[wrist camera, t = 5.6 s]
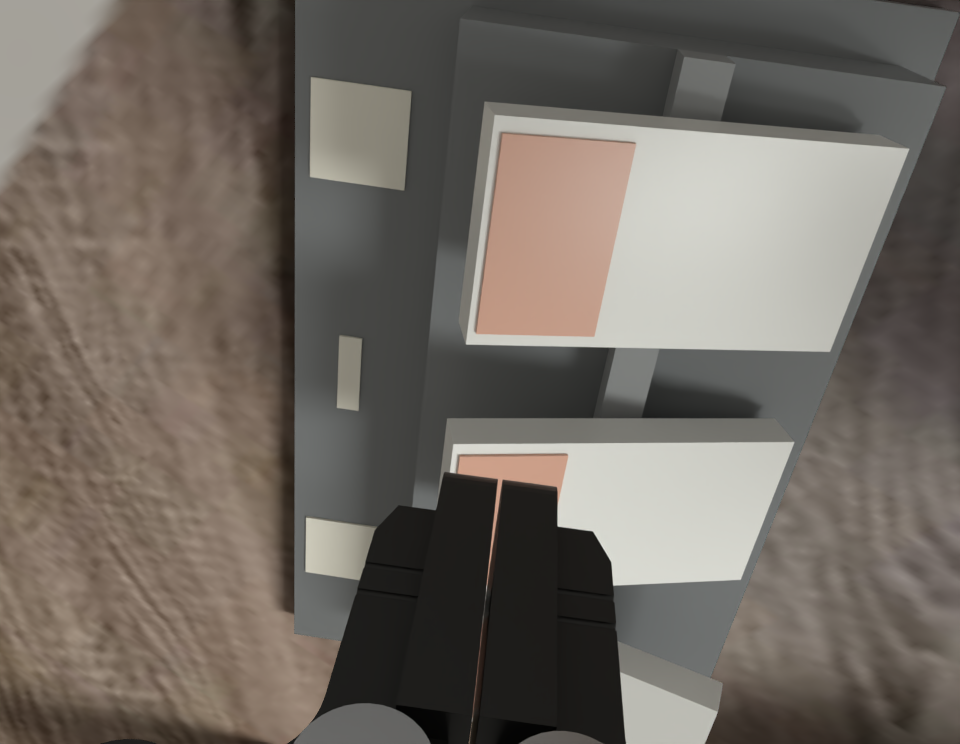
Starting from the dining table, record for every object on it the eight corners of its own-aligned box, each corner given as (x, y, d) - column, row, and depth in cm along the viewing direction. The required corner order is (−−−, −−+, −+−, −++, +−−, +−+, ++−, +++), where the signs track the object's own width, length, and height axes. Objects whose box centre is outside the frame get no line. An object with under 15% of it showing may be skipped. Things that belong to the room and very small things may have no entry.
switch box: (944, 8, 22) (1042, 33, 18) (690, 676, 36) (709, 784, 32) (305, -81, 22) (241, -79, 18) (300, 616, 37) (264, 715, 32)
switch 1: (879, 135, 20) (912, 150, 19) (807, 330, 23) (831, 354, 21) (484, 101, 18) (495, 115, 17) (458, 321, 20) (466, 346, 19)
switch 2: (774, 418, 24) (796, 444, 23) (724, 553, 27) (742, 582, 26) (446, 418, 22) (454, 446, 21) (429, 564, 25) (435, 596, 24)
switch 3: (723, 683, 26) (717, 714, 25) (681, 783, 29) (674, 815, 28) (444, 572, 29) (429, 596, 28) (431, 674, 31) (416, 699, 30)
